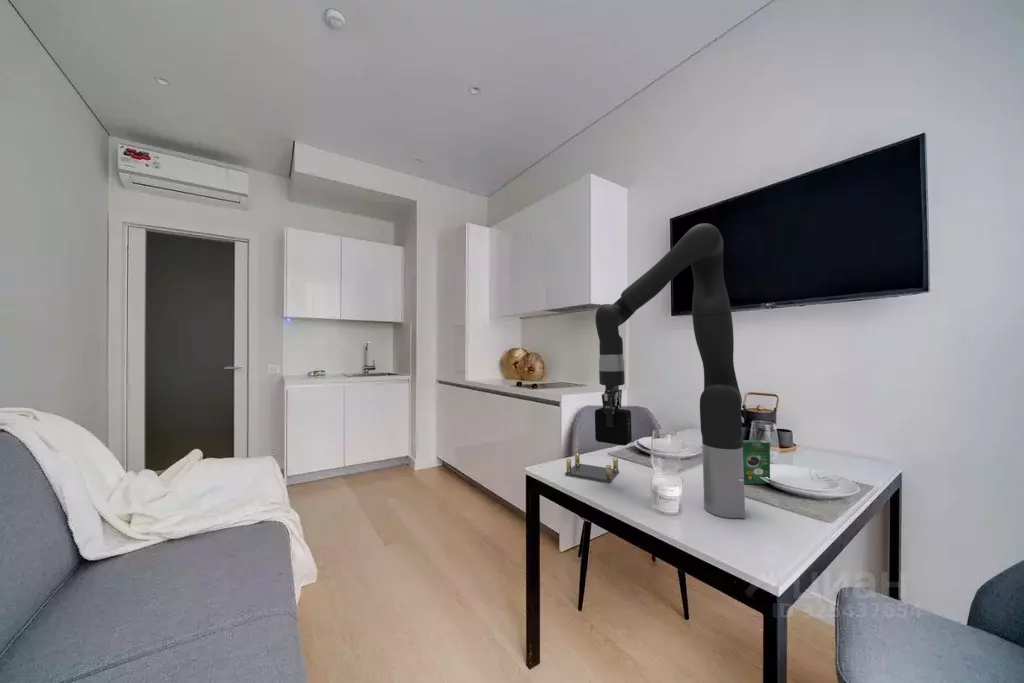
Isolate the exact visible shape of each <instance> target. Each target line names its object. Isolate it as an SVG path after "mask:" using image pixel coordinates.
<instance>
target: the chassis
mask: <svg viewBox="0 0 1024 683" xmlns="http://www.w3.org/2000/svg"><path fill="white" fill-rule="evenodd" d="M580 459H581V458H580V453H579V452H575V453H574V465H573V466H572V459H571V458H567V459H566V461H565V462H566V466H565V467H566V471H565V477H570V478H571V477H573V478H576V479H577V478H578V479H583V480H588V481H594V482H599V483H605V484H611V483H612V482H613V480H614V479H615V478H616V477H617V476H618V474H619V473H620V470H619V458H615V457H614V458H612V462H613V463H612V465H610V464H607V465H606V467H605V466H604V467H603V466H599V465H598V466H597V465H591V464H584V463H581V462H580ZM612 466H613V467H612Z"/></svg>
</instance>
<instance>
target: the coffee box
mask: <svg viewBox="0 0 1024 683" xmlns="http://www.w3.org/2000/svg"><path fill="white" fill-rule="evenodd" d="M743 471H744V485H767V484H766V483H765V482H764V481H763V480H762V479H761V478H760V477H768V478H770V479H771V444H770V442H769V441H767V440H761V439H759V440H757V439H756V440H751V439H750V440H748V439H743Z"/></svg>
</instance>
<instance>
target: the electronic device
mask: <svg viewBox="0 0 1024 683" xmlns="http://www.w3.org/2000/svg"><path fill="white" fill-rule="evenodd" d="M608 409H610V407H608ZM614 412H615V413H614V424H615V425H614V427H608V426H607V417H606V413H604V411H603V407H599V408H596V409H595V410H594V429H595V430H594V432H595V433H594V437H595V441H596V442H599V443H604V444H611V445H618V446H624V447H625V446H627V445H628V444H630V443H631V442H632V439H633V438H632V433H633V431H632V412H631V410H630V409H622V408H620V409H615V411H614Z"/></svg>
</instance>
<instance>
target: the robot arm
mask: <svg viewBox="0 0 1024 683" xmlns="http://www.w3.org/2000/svg"><path fill="white" fill-rule="evenodd" d="M690 266H691V271H692V275H693V293H692V304H691V305H692V306H691V313H692V314H691V315H692V316H691V318H692V324H693V325H692V327H693V332H694V339H695V342H696V345H697V349H698V352H699V356H700V358H701V362H702V368H703V382H704V383H703V391H702V392H701V394H700V398H699V421H700V423H699V424H700V432H701V439H702V440H701V442H702V444H701V445H702V449H701V450H702V480H703V481H702V482H703V483H702V484H703V507H704V508H703V509H705V510H706V512H708V513H710V514H712V515H714V516H717V517H721V518H727V519H746V504H745V502H746V498H745V484H744V471H743V440H744V438H743V420H742V404H743V398H742V394H741V392H740V388H739V384H738V380H737V375H736V371H735V363H734V353H735V352H734V351H735V348H734V340H735V338H734V324H733V317H732V308H731V303H730V299H729V293H728V291H727V286H726V282H725V276H724V239H723V236H722V234H721V232H720V230H719V229H718V228H717V227H716V226H715V225H713V224H712V223H707V222H706V223H704V222H703V223H698V224H696V225H694V226H692V227H691V228H689V229H688V230H687V232H686V233H685V234H683V236H682V237H680V239H679V240H678V241H677V243H675V245H673V246H672V248H671V249H670V250H669V251H668V252H667V253H666V254H665V255H664V256H663V257H662V258H661V259H660V260H659V261H658V262H656V263H655V264H654V265H653V266H652V267H650V269H648V270H647V271H646V272H645V273H644V274H642V275H641V276H640V277H638V278H637V279H636V280H635V281H634V282H633V283H631V284H630V285H629V286H628V287H626V288H625V289H624V290H623V291H622V292H621V294H620V297H619V298H618V299H617V300H616V301H615V302H614V303H612V304H611V303H604V304H601V305H600V306H599V307H598V308H597V310H596V312H595V327H596V331H597V336H598V340H599V358H598V374H599V375H598V376H599V377H598V378H599V382H598V383H599V384H600V385H601V386H605V389H604V392H603V393H601V401H602V402H601V403H602V408H603V411H604V413H606V417H607V426H608V427H614V425H615V424H614V413H615V412H614V411H615V409H622V396H623V395H622V394H623V393H622V392H623V390H622V389H620V386H624V385H625V382H626V381H625V380H626V379H625V376H626V375H625V359H624V343H623V338H622V337H621V335H620V331H619V330H620V329H619V327H620V326H621V325H623V324H624V323H626V322H627V321H628V320H629V319H630V318H631V317H632V315H634V314H635V312H636V311H637V310H639V309H640V308H642V307H643V306H644V305H646V304H647V303H648V302H650V301H652V299H654V298H655V297H656V296H657V295H659V293H660V292H661V291H662V290H663V289H664V288H665V287H666V286H667V285H668V284H669V283H670V282H671V281H672V280H673V279H674V278H675V277H676V276H678V275H679V273H681V272H682V271H684V270H685V269H686V268H688V267H690ZM608 408H610V409H608Z"/></svg>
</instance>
